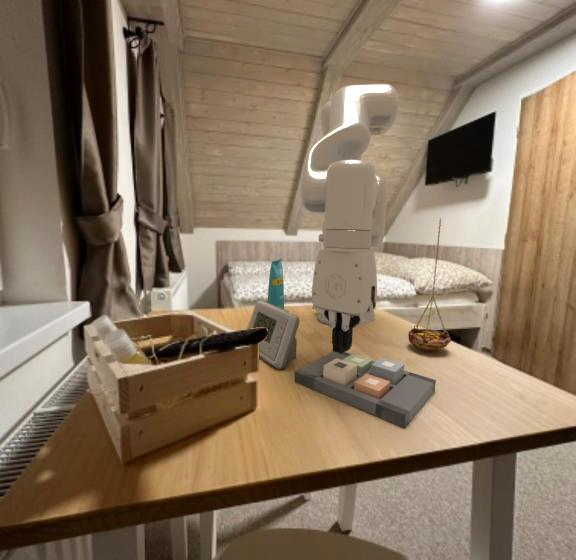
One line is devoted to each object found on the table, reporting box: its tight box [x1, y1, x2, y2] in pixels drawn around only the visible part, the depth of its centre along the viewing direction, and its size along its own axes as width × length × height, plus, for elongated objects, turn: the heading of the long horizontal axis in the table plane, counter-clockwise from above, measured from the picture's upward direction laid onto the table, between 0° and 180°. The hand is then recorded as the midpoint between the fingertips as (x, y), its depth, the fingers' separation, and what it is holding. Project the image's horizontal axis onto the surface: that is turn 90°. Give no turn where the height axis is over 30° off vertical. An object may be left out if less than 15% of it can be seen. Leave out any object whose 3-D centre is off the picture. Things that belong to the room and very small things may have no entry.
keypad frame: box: [293, 350, 437, 429], centre depth 56 cm, size 20×14×2 cm
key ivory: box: [323, 358, 357, 386], centre depth 56 cm, size 4×4×3 cm
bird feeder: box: [407, 217, 451, 351], centre depth 72 cm, size 9×9×30 cm
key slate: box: [371, 357, 405, 385], centre depth 56 cm, size 4×4×3 cm
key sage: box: [343, 353, 373, 374], centre depth 60 cm, size 4×4×3 cm
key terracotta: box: [354, 374, 390, 400], centre depth 52 cm, size 4×4×3 cm
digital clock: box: [246, 300, 300, 370], centre depth 68 cm, size 16×9×11 cm, turn 21°
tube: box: [267, 258, 285, 310], centre depth 83 cm, size 7×5×19 cm, turn 169°
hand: (341, 350), depth 54 cm, fingers closed
